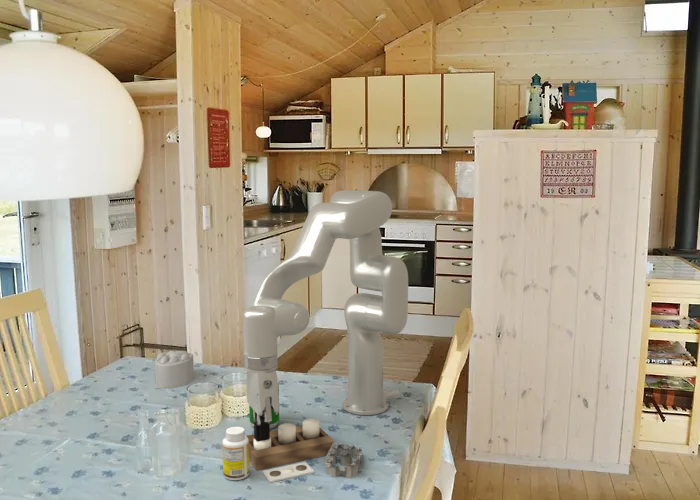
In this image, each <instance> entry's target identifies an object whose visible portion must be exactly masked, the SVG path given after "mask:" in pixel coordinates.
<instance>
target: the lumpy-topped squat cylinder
mask: <svg viewBox="0 0 700 500" xmlns="http://www.w3.org/2000/svg"><path fill="white" fill-rule="evenodd" d="M154 368H155V373H154V374H155V385H156V386H157V387H159V388H160V389H174V388H178V387H182V386H184V385H188V384H189V383H191V381H192V380H193V379H194V378H195V371H194V370H195V369H194V368H195V367H194V354H193V353H191V352H188V351H185V350H170V351H168V352H165V353H164V352H160V353H159V354H158V355H157V356H156V358H155V360H154Z"/></svg>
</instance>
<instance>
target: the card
mask: <svg viewBox="0 0 700 500" xmlns="http://www.w3.org/2000/svg"><path fill="white" fill-rule="evenodd" d="M262 474H263V475H264V476H265V478H266V479H267V481H268V483H274V482H279V481H284V480H290V479H293V478H297V477H302V476H307V475H311V474H315V470H314V469H313V468H312V467H311V466H310V465H309V463H307V461H301V462H296V463H291V464H289V465H288V464H287V465H282V466H277V467H273V468H268V469H263V470H262Z"/></svg>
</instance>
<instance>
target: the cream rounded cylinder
mask: <svg viewBox="0 0 700 500" xmlns="http://www.w3.org/2000/svg"><path fill="white" fill-rule="evenodd" d="M270 447H271V437H270V439H268V440H263V441H258V442H257V441H256V440H255V439H254V449H255V450H260V449H265V448H270Z"/></svg>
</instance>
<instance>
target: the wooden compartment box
mask: <svg viewBox="0 0 700 500" xmlns="http://www.w3.org/2000/svg"><path fill="white" fill-rule="evenodd" d="M295 426H296V442H295V443H290V444H285V445H283V444H280V443H279V438H278V429H274V430H270V437H271V447H270V448H265V449H260V450H255V449H254V433H253V434H248V435H245V436H246V437H247V438H248V440H249V464H250V465H251V466H252V467H253V469H254V470H255V471H261V470H267V469H272V468H276V467H281V466H286V465H288V464H289V465H290V464H295V463H300V462H304V461H308V460H311V459H316V458H321V457H326V456H327V454H328V451H329V450H330V449H331V446H332V444H333V442H335V443H336V441H335V440H334V439H333V438H332V437H331V436H330V435H329V434H328V433H326V432H325V430H323V429H322V427H320V426H319V429H320V437H319V438H315V439H310V440H306V439H304V438H303V427H302V424H300V425H295Z"/></svg>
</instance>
